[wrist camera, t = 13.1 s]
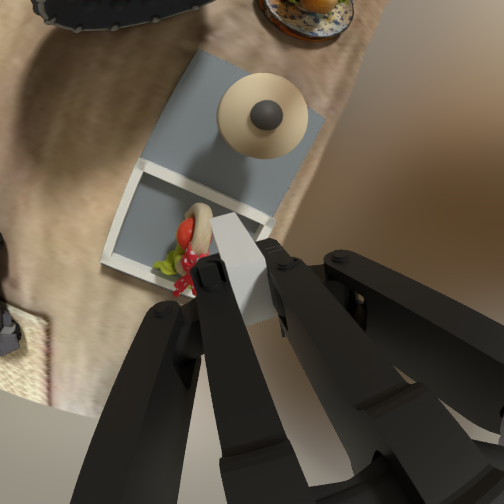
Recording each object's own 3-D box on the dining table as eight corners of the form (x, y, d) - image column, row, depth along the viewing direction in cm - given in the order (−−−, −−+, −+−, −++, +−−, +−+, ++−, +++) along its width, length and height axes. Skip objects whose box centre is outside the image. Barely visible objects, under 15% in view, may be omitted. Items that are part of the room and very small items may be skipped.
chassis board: (102, 260, 32) (94, 275, 28) (198, 51, 26) (200, 40, 22) (221, 305, 38) (226, 323, 34) (322, 119, 31) (338, 118, 28)
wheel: (201, 134, 23) (203, 134, 20) (241, 64, 21) (248, 55, 18) (273, 170, 25) (285, 175, 22) (309, 104, 24) (325, 101, 21)
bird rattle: (163, 205, 32) (149, 285, 32) (168, 181, 22) (146, 298, 21) (216, 216, 34) (203, 293, 34) (244, 198, 24) (225, 310, 23)
